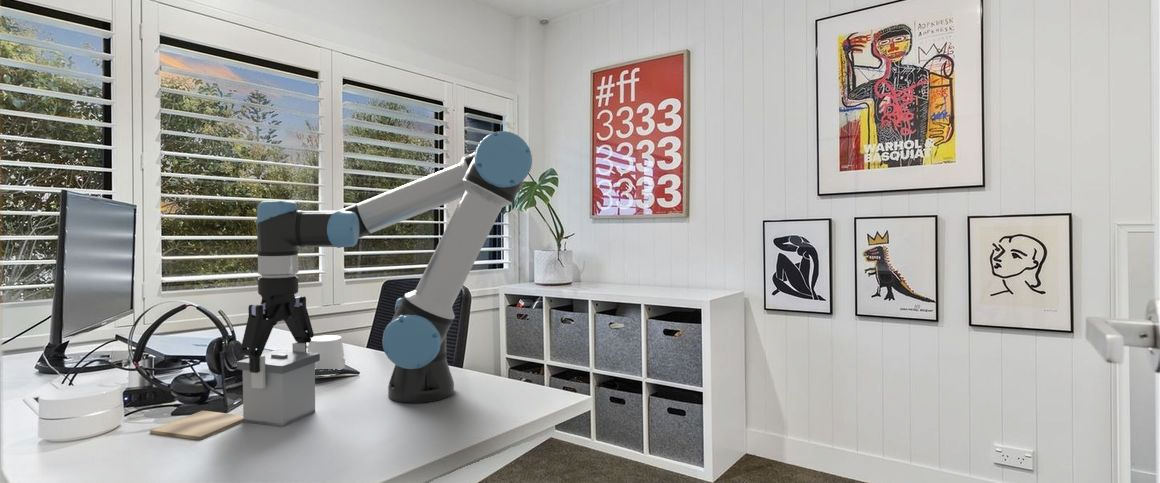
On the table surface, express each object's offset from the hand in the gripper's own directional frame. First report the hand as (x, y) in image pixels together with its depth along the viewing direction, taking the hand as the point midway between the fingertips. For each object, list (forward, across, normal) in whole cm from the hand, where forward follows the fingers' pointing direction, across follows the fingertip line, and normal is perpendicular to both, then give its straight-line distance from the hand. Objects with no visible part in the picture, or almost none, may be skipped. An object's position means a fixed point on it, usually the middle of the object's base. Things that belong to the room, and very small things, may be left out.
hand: (279, 379), depth 129 cm
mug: (+8, -31, -14) cm, 35 cm away
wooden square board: (+8, +9, -11) cm, 16 cm away
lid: (-2, 0, 0) cm, 2 cm away
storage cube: (+8, 0, 0) cm, 8 cm away
